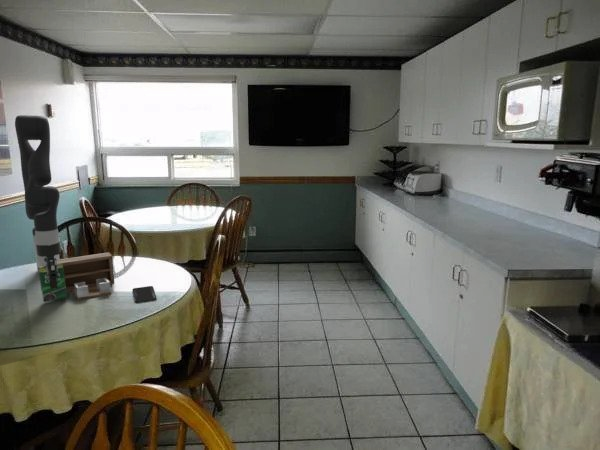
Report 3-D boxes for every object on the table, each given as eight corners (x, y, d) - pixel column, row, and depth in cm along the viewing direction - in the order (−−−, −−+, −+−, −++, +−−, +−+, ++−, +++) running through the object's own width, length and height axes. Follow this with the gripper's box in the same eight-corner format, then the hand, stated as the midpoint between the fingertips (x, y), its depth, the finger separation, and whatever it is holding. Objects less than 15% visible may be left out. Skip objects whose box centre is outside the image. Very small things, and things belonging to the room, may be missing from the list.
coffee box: (42, 302, 158) (38, 268, 155) (41, 300, 160) (37, 266, 157) (67, 298, 162) (63, 264, 159) (66, 295, 164) (62, 262, 162)
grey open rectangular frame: (74, 293, 167) (73, 283, 167) (106, 287, 174) (106, 277, 173) (77, 298, 162) (76, 288, 162) (110, 291, 169) (109, 282, 168)
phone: (152, 285, 176) (156, 298, 163) (152, 288, 176) (156, 300, 163) (132, 288, 173) (134, 301, 160) (132, 291, 173) (134, 304, 160)
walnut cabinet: (58, 288, 175) (55, 260, 172) (111, 279, 186) (108, 252, 184) (65, 302, 160) (62, 271, 157) (122, 291, 171) (119, 262, 169)
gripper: (33, 239, 160) (39, 283, 163) (38, 247, 149) (43, 294, 152) (56, 236, 164) (61, 279, 168) (62, 244, 153) (67, 290, 157)
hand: (53, 286), depth 160 cm, fingers closed on coffee box, 3 cm apart
